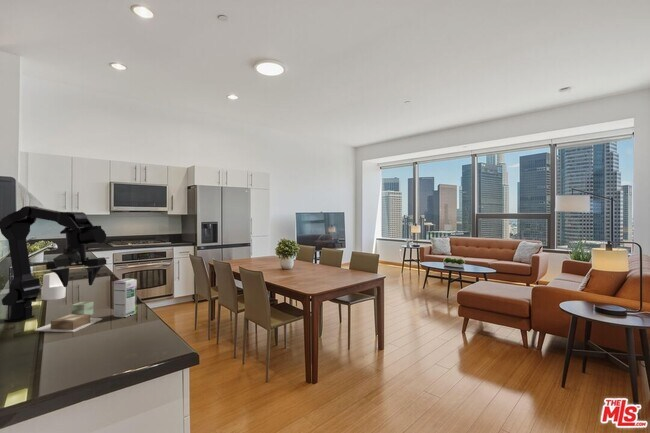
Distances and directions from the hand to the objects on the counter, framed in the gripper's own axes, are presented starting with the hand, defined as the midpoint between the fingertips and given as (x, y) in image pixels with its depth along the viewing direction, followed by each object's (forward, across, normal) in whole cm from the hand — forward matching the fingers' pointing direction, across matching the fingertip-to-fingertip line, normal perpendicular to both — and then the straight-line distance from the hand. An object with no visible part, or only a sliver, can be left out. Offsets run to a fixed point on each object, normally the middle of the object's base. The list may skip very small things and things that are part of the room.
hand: (78, 286), depth 121 cm
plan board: (+14, -2, -3) cm, 14 cm away
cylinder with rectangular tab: (+10, -37, +35) cm, 52 cm away
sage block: (+13, -5, +8) cm, 16 cm away
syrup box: (+15, +11, +9) cm, 21 cm away
